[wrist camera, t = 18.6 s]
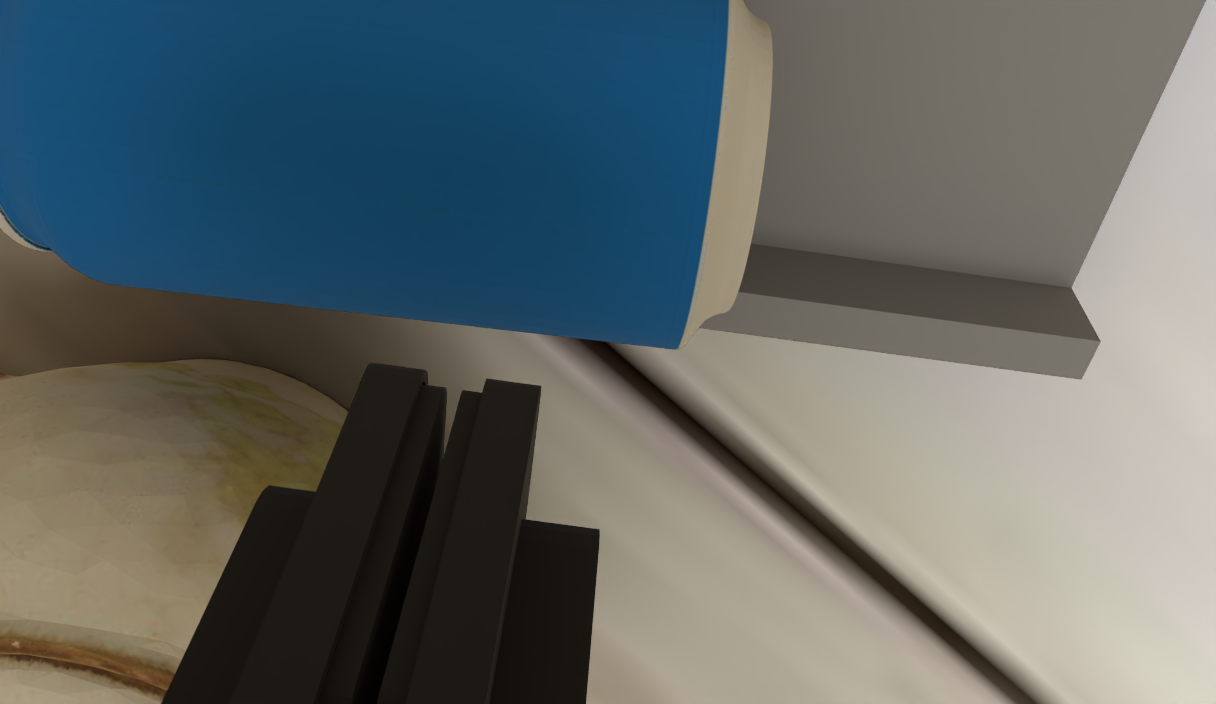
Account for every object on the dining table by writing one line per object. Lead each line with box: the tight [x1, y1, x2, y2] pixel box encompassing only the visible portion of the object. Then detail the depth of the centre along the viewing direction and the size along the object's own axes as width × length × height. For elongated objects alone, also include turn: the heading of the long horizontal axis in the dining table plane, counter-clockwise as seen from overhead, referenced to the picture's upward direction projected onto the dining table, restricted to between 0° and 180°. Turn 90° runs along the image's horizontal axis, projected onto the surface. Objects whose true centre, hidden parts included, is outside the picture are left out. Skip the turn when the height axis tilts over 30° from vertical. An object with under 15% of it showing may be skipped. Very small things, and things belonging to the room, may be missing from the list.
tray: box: [699, 0, 1206, 379], centre depth 20 cm, size 11×22×3 cm, turn 83°
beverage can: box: [0, 0, 773, 350], centre depth 19 cm, size 6×6×12 cm
